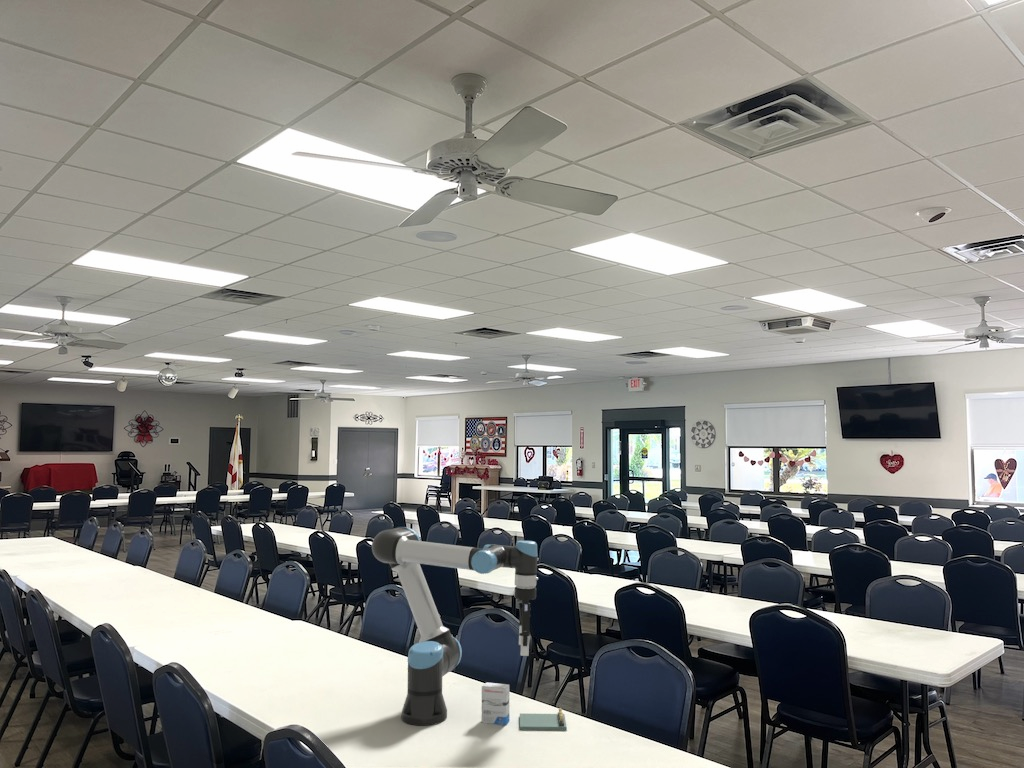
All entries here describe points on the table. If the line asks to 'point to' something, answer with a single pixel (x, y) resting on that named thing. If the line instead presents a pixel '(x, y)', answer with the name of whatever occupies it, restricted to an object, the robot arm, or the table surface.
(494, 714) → the ink box
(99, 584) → the table surface
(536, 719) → the header board
